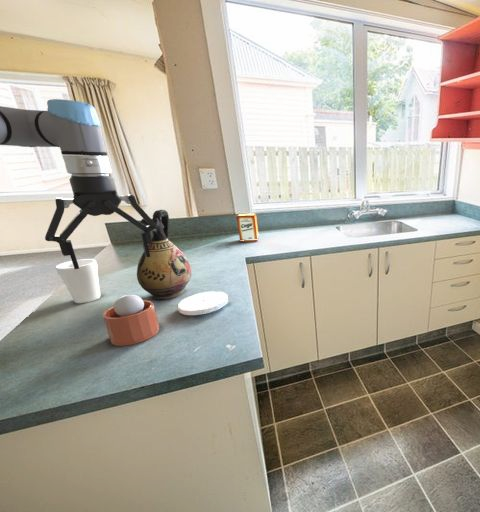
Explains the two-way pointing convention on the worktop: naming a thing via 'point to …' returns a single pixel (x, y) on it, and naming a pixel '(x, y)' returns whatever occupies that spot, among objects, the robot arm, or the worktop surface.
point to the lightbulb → (128, 305)
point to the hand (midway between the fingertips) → (114, 261)
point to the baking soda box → (247, 227)
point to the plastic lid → (202, 303)
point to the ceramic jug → (163, 263)
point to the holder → (131, 325)
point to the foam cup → (81, 280)
